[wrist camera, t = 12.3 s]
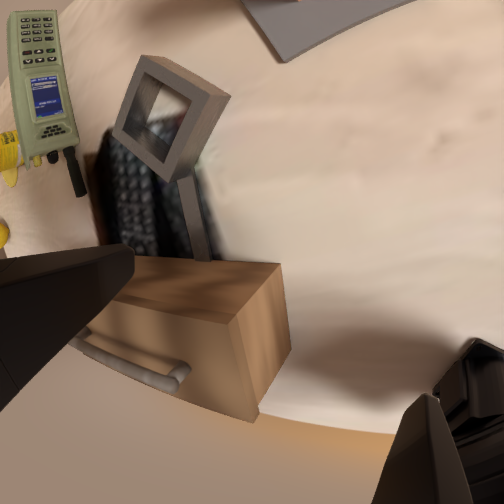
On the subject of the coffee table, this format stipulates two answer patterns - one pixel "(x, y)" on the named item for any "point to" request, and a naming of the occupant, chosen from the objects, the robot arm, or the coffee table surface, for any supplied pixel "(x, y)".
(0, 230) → the lemon
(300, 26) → the charcoal mat
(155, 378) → the walnut toolbox
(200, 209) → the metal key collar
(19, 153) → the supplement bottle
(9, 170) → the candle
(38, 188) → the coffee table surface
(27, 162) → the handheld radio
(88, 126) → the coffee table surface
